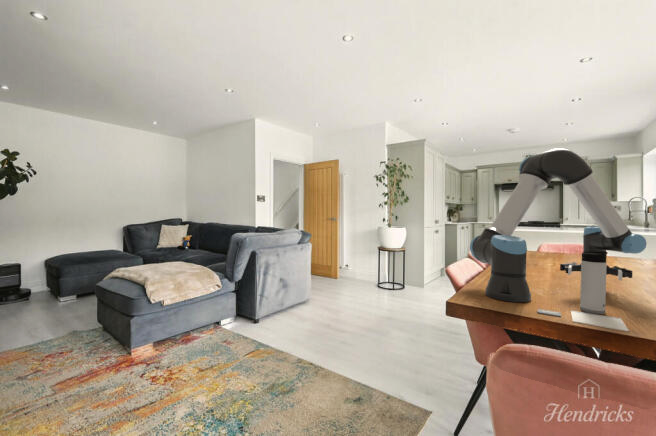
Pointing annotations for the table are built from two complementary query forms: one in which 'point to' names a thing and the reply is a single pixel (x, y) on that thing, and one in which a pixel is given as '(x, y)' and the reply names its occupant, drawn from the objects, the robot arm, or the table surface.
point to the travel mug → (593, 282)
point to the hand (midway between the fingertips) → (594, 273)
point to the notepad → (598, 320)
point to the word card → (549, 312)
